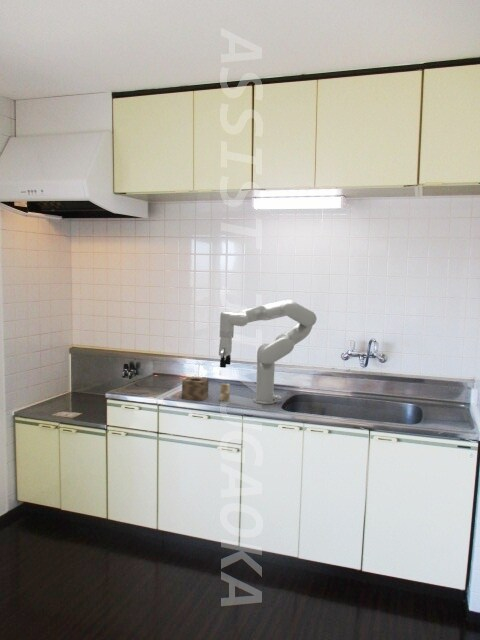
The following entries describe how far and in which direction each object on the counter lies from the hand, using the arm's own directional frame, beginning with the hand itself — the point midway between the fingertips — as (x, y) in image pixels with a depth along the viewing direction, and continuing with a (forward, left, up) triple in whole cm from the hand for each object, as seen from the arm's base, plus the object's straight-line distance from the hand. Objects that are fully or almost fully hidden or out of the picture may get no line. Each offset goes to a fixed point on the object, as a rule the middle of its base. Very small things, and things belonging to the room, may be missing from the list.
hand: (225, 365), depth 281 cm
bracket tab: (0, 0, -19) cm, 19 cm away
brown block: (+17, 0, -19) cm, 25 cm away
